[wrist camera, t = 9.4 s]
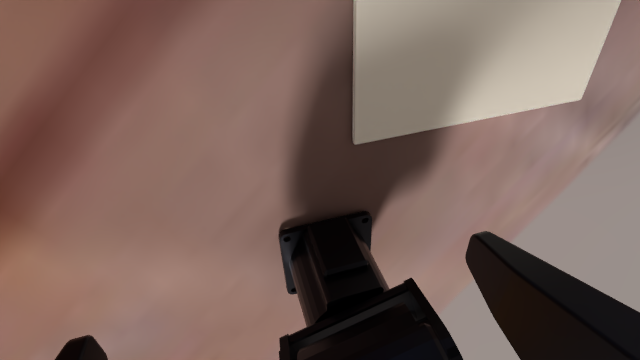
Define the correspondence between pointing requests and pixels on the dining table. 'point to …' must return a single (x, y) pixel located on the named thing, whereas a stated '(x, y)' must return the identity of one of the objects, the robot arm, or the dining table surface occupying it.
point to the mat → (468, 60)
